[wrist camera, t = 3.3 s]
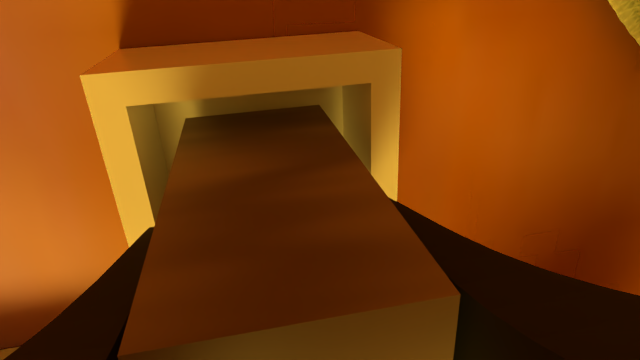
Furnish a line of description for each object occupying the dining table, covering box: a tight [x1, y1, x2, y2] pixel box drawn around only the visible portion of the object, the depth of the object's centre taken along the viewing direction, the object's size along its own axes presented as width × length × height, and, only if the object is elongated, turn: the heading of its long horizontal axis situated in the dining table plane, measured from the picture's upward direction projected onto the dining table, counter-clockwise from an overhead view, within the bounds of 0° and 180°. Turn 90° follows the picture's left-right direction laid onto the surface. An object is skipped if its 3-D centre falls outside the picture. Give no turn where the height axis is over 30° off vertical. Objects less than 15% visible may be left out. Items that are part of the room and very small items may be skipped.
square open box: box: [80, 31, 402, 247], centre depth 14 cm, size 8×8×4 cm
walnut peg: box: [117, 105, 461, 360], centre depth 10 cm, size 4×4×9 cm
